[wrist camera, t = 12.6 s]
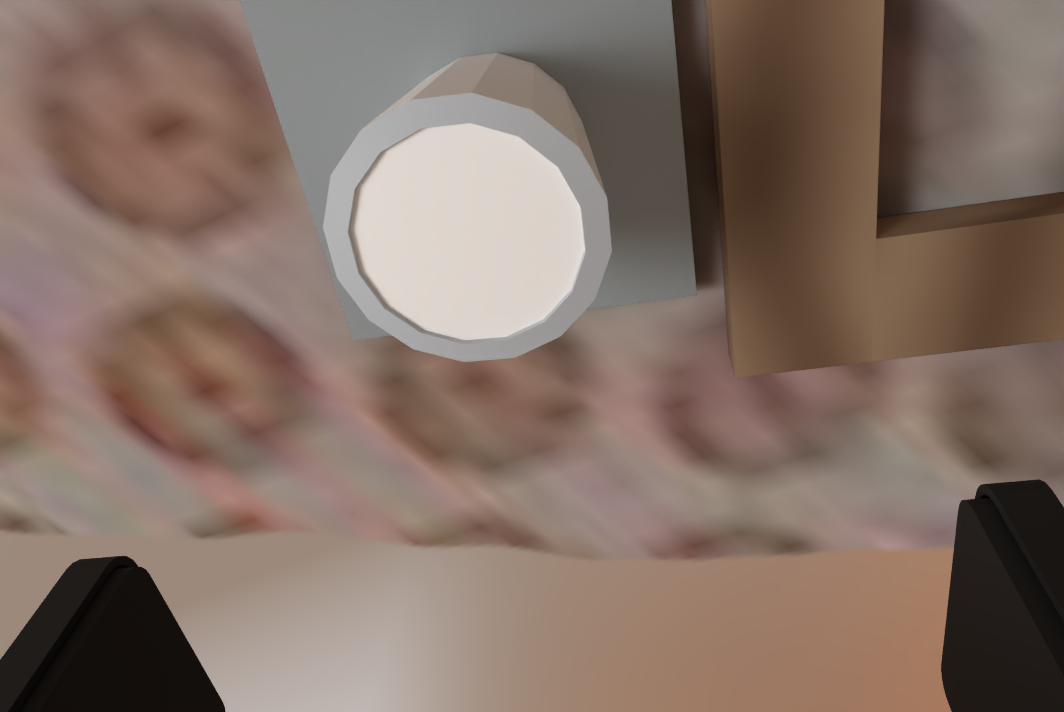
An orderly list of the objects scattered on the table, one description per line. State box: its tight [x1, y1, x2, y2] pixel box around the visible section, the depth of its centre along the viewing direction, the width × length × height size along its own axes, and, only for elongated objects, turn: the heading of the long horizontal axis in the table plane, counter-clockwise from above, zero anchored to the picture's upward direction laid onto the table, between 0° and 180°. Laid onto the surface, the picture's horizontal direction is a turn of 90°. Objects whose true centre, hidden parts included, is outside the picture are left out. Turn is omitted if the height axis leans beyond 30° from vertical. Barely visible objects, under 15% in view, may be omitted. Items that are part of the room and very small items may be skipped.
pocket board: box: [705, 0, 1064, 378], centre depth 24 cm, size 18×18×2 cm
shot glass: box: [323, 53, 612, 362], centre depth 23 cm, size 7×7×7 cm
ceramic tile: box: [240, 0, 697, 340], centre depth 26 cm, size 12×12×1 cm
